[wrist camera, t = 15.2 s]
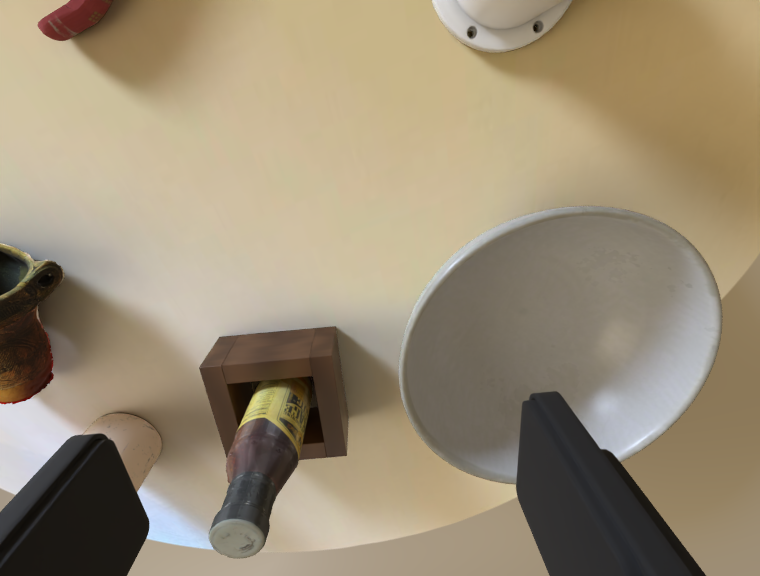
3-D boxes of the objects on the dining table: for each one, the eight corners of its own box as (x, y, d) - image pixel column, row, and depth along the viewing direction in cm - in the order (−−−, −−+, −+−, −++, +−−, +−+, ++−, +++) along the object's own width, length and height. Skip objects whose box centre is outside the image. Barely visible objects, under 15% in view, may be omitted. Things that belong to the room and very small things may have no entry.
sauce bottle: (318, 399, 48) (290, 570, 30) (266, 404, 48) (207, 579, 30) (309, 353, 45) (273, 509, 27) (255, 358, 45) (182, 518, 27)
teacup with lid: (75, 414, 47) (-9, 500, 37) (151, 405, 47) (89, 489, 37) (112, 486, 52) (47, 581, 41) (181, 479, 52) (134, 572, 41)
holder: (335, 326, 44) (331, 355, 39) (348, 418, 49) (346, 455, 44) (219, 336, 44) (198, 367, 39) (244, 428, 49) (229, 466, 44)
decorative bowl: (670, 200, 40) (788, 230, 29) (584, 411, 50) (648, 494, 39) (410, 166, 38) (430, 184, 27) (375, 395, 48) (379, 477, 37)
